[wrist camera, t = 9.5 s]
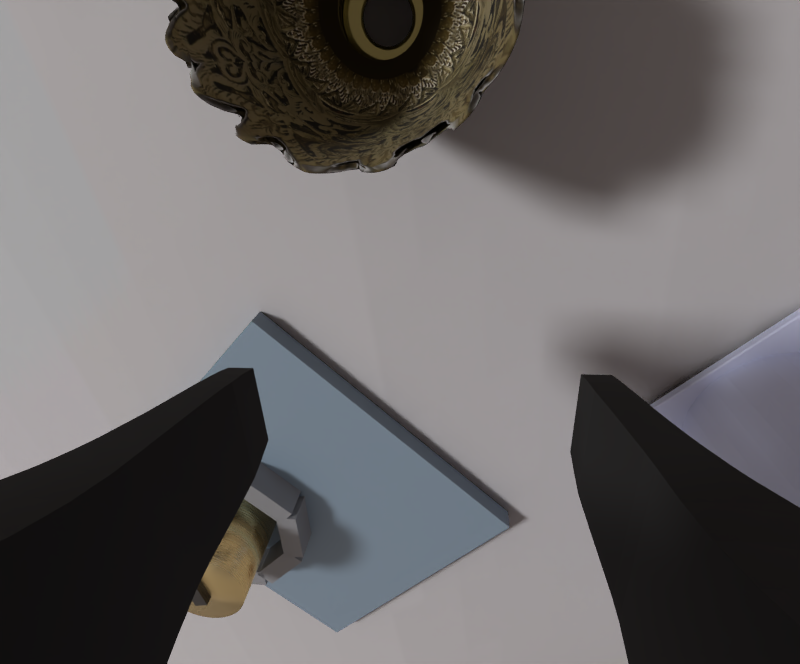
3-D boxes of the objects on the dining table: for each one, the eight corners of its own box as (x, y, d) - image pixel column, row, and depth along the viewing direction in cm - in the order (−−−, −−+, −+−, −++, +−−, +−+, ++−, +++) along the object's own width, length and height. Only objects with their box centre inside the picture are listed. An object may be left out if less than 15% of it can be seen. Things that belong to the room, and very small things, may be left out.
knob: (287, 535, 26) (253, 624, 22) (221, 540, 27) (177, 627, 23) (261, 480, 25) (218, 565, 20) (192, 488, 26) (137, 571, 21)
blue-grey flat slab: (507, 511, 25) (512, 552, 23) (340, 616, 31) (331, 657, 29) (260, 311, 21) (237, 337, 19) (122, 472, 27) (92, 506, 25)
